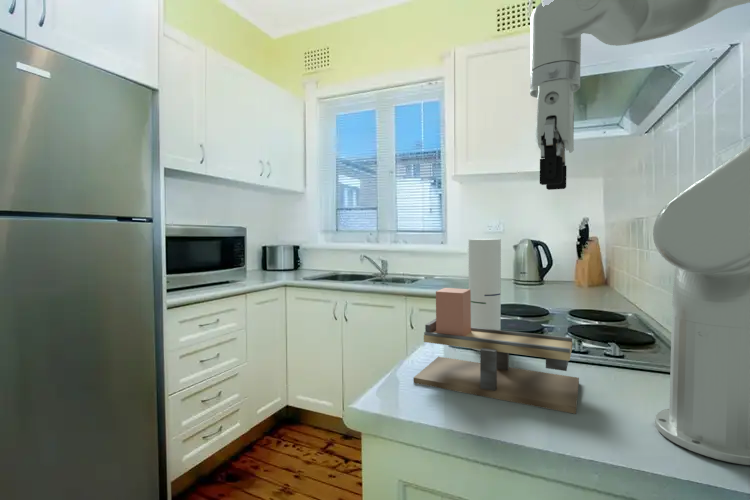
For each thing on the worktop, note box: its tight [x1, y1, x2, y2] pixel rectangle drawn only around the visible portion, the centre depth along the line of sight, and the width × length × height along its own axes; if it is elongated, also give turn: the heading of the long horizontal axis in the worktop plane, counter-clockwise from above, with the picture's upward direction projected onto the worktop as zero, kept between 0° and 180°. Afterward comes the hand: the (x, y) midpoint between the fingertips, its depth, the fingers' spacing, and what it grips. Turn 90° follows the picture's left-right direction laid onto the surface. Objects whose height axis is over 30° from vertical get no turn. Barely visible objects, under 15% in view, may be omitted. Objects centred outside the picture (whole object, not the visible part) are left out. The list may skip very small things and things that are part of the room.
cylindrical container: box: [468, 238, 502, 352], centre depth 92 cm, size 7×7×25 cm
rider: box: [435, 287, 471, 336], centre depth 74 cm, size 5×5×8 cm
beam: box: [423, 318, 573, 372], centre depth 70 cm, size 24×8×5 cm, turn 61°
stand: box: [413, 348, 580, 415], centre depth 70 cm, size 26×13×8 cm, turn 61°
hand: (553, 186), depth 66 cm, fingers open, 9 cm apart
